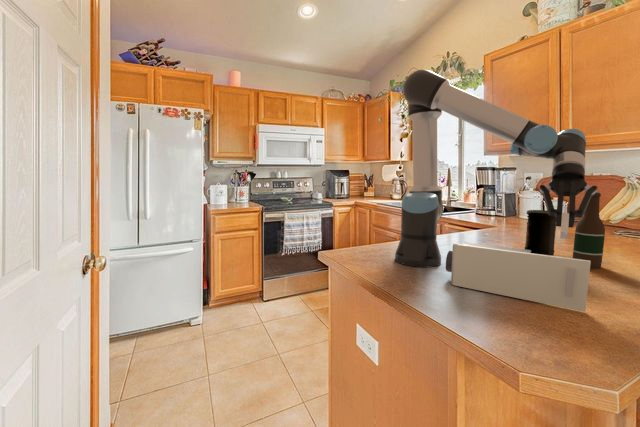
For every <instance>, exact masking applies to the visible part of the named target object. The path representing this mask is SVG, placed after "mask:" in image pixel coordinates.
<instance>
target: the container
mask: <svg viewBox="0 0 640 427" xmlns="http://www.w3.org/2000/svg"><path fill="white" fill-rule="evenodd" d="M526 215H527V217H526V218H527V222H526V232H525V243H524V248H523V249H524V250H531V253H533V254H541V255H549V256H555V255H554V254H555V239H556V233H557V232H556V231H557V230H556V229H557V226H556V217H555V216H549V215H548V211H547V209H546V210H544V209H529V210H526Z"/></svg>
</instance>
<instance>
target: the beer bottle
mask: <svg viewBox="0 0 640 427" xmlns="http://www.w3.org/2000/svg"><path fill="white" fill-rule="evenodd" d="M600 197H602V194H601V193H600V192H599V191H596V194H595V195H594V196H593V197H592V198H591V199H590V201H589V204H588V206H587V208H586V210H585V213H584V215H583V217H581V218H579V220H578V222H577V223H576V226H575V230H574V239H573V240H574V241H573V250H572V258H573V259H581V260H589V261H591V264H590V270H591V269H592V270H593V269H594V270H595V269H598V270H599V269H601V268H602V263H603V262H602V261H603V253H604V244H605V238H606V237H605V235H606V228H605V225H604V222H603V221H602V219H601V218H600V200H601V199H600Z"/></svg>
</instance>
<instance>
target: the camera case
mask: <svg viewBox="0 0 640 427" xmlns="http://www.w3.org/2000/svg"><path fill="white" fill-rule="evenodd" d="M461 244H462V245H470V246H478V247H486V248H494V249H502V250H510V251H518V252H525V253H531V250H525V249H524V248H514V247H507V246H506V247H505V246H498V245H489V244H483V243H482V244H481V243H473V242H464V243H461ZM452 254H453V250H449V251H448V252H447V255H446V257H445V269H446V272H447V273H452Z"/></svg>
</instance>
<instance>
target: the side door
mask: <svg viewBox="0 0 640 427" xmlns="http://www.w3.org/2000/svg"><path fill="white" fill-rule="evenodd" d="M462 244H463V243H461V244H460V243H452V251H453V254H452V272H450V273H451V276H450V285H452V286H456V287H462V288H465V289H466V288H467V289H470V290H477V291H480V292H481V291H482V292H486V293H491V294H495V295H500V296H505V297H511V298H515V299H521V300H524V301H530V302H535V303H538V304H539V303H540V304H545V305H549V306H554V307H560V308H564V309H570V310H575V311H580V312H584V313H586V309H587V302H588V292H589V291H588V290H589V282H590V274H591V273H590V272H591V271H590V270H591V269H590V264H591V261H589V260H581V259H573V257H571V258H570V257H564V256H557V255H556V256H555V255H554V256H549V255H541V254H533V253H525V252H518V251H510V250H502V249H494V248H486V247H478V246H470V245H462Z"/></svg>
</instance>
